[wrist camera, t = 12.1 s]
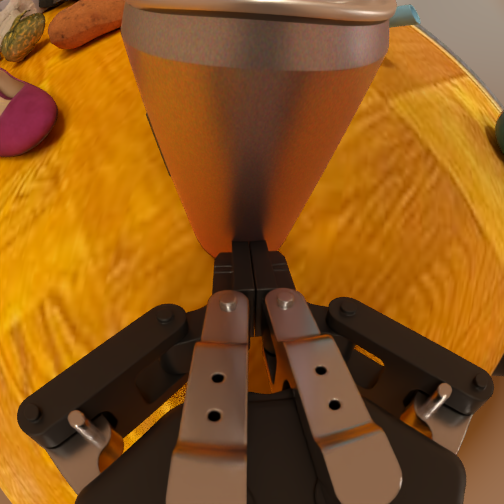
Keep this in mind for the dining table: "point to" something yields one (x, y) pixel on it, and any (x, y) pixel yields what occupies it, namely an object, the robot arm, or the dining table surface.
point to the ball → (500, 131)
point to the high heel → (23, 115)
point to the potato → (85, 22)
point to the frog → (20, 29)
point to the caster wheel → (46, 3)
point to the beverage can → (251, 101)
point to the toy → (59, 1)
